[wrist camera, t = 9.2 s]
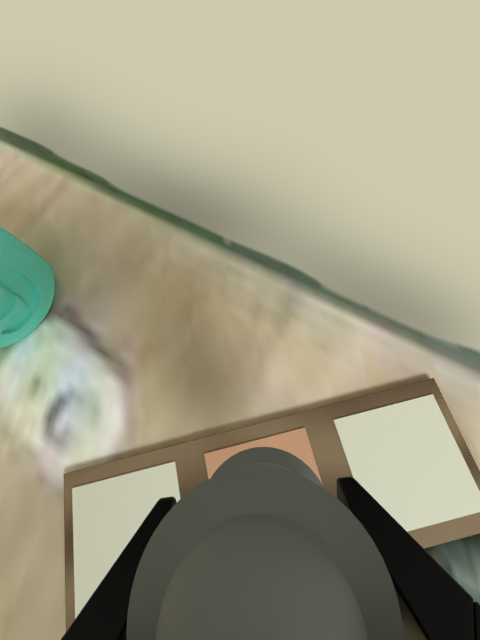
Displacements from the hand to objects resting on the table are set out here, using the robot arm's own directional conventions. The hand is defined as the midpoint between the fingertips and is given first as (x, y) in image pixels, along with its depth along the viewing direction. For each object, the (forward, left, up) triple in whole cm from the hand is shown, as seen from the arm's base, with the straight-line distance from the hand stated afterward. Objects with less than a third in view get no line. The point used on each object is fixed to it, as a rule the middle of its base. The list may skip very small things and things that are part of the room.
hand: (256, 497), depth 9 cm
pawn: (-1, 0, -7) cm, 7 cm away
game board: (-1, 0, -13) cm, 14 cm away
